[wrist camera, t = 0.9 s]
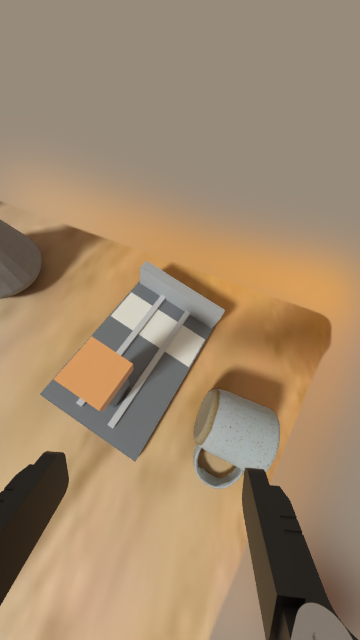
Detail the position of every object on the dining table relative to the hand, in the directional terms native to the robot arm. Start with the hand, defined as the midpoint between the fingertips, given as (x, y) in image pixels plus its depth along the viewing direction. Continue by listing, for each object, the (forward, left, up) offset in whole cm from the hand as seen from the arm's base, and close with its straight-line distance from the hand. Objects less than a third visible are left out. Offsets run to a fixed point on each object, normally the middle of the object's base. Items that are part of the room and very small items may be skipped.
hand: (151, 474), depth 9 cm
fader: (-4, +5, -19) cm, 20 cm away
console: (-1, +10, -20) cm, 22 cm away
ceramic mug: (+11, 0, -20) cm, 23 cm away
